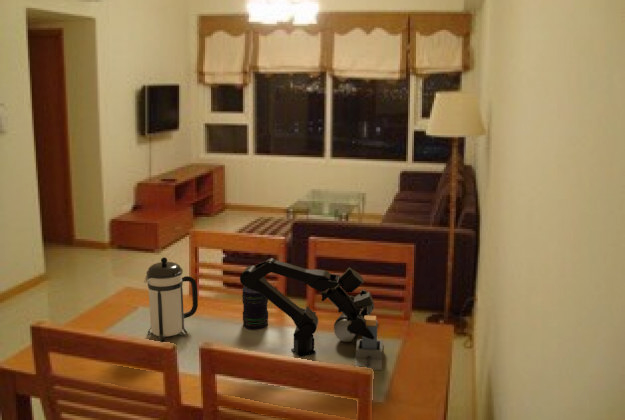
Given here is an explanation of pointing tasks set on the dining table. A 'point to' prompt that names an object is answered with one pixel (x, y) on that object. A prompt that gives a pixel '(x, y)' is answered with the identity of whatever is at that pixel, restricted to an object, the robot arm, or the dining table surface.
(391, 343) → the dining table surface
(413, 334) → the dining table surface
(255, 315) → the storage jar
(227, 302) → the dining table surface
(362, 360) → the end holder
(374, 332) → the orange-capped square pillar
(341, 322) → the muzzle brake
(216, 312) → the dining table surface
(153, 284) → the coffee press
